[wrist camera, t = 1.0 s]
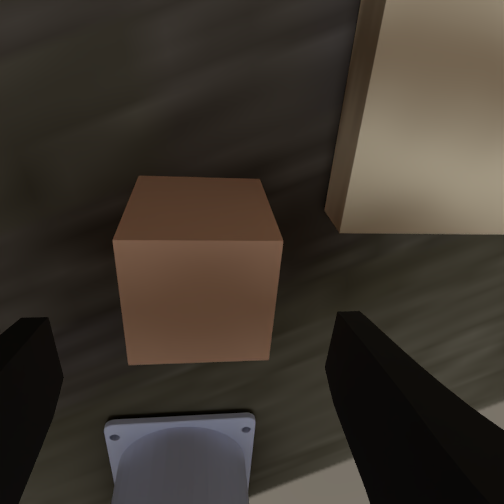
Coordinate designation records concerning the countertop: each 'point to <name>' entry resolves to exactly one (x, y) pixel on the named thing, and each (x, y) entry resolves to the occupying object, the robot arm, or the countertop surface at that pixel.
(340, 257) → the countertop surface
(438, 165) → the base
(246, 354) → the block
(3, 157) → the countertop surface
